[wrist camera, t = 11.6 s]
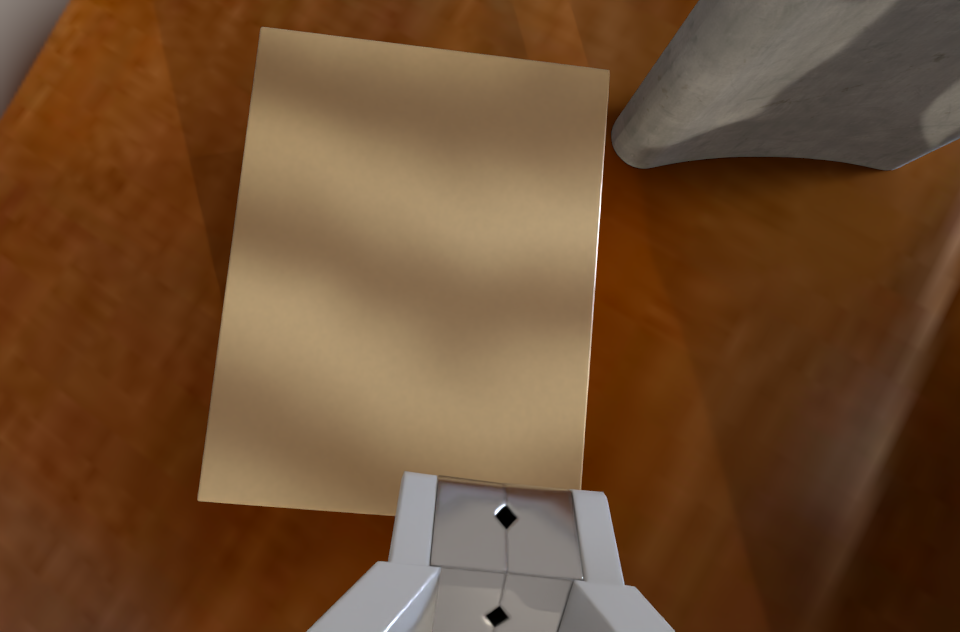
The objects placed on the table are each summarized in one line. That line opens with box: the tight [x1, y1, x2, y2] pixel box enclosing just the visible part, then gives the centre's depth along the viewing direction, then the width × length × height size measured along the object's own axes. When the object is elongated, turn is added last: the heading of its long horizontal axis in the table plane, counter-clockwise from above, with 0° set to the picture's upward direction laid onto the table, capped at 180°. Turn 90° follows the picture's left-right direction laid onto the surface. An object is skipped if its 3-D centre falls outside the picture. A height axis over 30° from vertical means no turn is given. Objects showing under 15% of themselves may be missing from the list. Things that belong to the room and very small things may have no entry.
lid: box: [198, 27, 610, 516], centre depth 24 cm, size 16×13×1 cm
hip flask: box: [611, 0, 960, 170], centre depth 24 cm, size 16×4×20 cm, turn 91°
